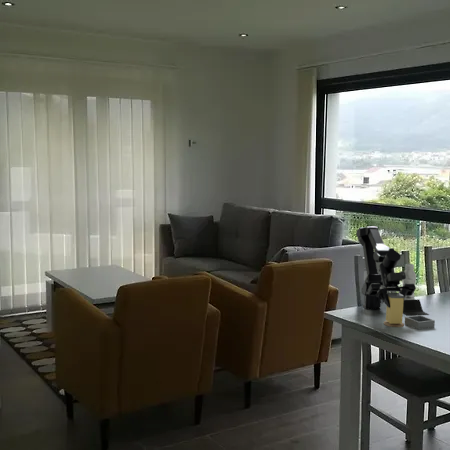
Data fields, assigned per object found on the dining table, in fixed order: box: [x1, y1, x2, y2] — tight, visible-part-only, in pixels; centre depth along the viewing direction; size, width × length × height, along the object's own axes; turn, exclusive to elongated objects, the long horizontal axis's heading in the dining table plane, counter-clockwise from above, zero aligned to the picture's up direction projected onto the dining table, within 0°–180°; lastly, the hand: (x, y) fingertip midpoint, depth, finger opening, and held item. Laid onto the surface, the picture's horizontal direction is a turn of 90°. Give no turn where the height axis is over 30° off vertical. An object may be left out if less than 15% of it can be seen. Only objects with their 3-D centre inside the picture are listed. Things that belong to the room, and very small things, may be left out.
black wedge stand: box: [403, 298, 430, 317], centre depth 265 cm, size 12×7×10 cm
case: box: [404, 315, 436, 330], centre depth 249 cm, size 17×8×4 cm, turn 23°
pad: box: [383, 320, 405, 328], centre depth 246 cm, size 8×8×1 cm
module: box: [385, 292, 404, 324], centre depth 246 cm, size 5×5×12 cm
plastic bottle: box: [401, 263, 417, 300], centre depth 275 cm, size 6×7×20 cm
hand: (395, 307), depth 244 cm, fingers closed on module, 5 cm apart
